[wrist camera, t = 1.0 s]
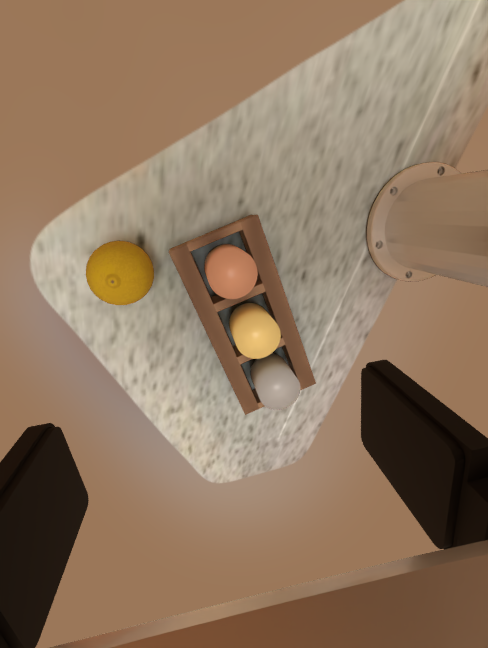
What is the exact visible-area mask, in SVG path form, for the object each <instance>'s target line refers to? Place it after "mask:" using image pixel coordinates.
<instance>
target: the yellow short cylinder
mask: <svg viewBox="0 0 488 648" xmlns="http://www.w3.org/2000/svg"><path fill="white" fill-rule="evenodd" d="M229 328H230V331H231V333H232V336H233V338H234V341H235V344H236V346H237V348H238V350H239V351H240V352H241V353H242V354H243V355H244V356H246V357H248V358H252V359H260V358H264V357H266V356H268V355H270V354H271V353H273V352H274V351H275V349H276V348H277V347H278V345H279V342H280V338H281V333H280V328H279V326H278V325H277V323H276V322H275V321H274V320H273V318H272V317H271V316H270V315H269V314H268V312H267V311H266V310H265V309H264V308H263V307H262V306H260V305H258V304H255V303H245V304H242V305H240V306H238V307H237V308H236V309H235V310H234V311H233V312H232V314H231V316H230V319H229Z"/></svg>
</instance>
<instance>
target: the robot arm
mask: <svg viewBox="0 0 488 648" xmlns="http://www.w3.org/2000/svg"><path fill="white" fill-rule="evenodd" d="M367 242H368V247H369V251H370V254H371V256H372V259H373V260H374V262H375V263H376V265H377V266H378V267H379V268H380V269H381V270H382V271H383V272H384V273H385V274H387V275H389V276H390V277H393V278H396V279H399V280H402V281H408V282H409V281H410V282H411V281H421V280H425V279H428V278H430V277H433V276H435V275H441V276H445V277H449V278H453V279H457V280H461V281H465V282H470V283H473V284H477V285H482V286H486V287H488V170H484V171H476V172H470V173H463V174H462V173H460V172H459V171H458V170H457V169H455V168H454V167H452V166H450V165H447V164H445V163H439V162H428V163H422V164H417V165H414V166H411V167H409V168H407V169H404V170H403V171H401V172H400V173H398V174H397V175H395V176H394V177H393V178H392V179H391V180H390V181H389V182H388V183H387V184H386V185H385V186H384V188H383V189H382V190H381V192H380V193H379V195H378V196H377V198H376V200H375V202H374V204H373V206H372V209H371V212H370V215H369V220H368V225H367ZM361 438H362V442H363V445H364V447H365V448H366V450H367V451H368V452H369V454H370V455H371V457H372V458H373V459H374V461H375V462H376V464H377V465H378V466H379V468H380V469H381V471H382V472H383V473H384V475H385V476H386V477H387V479H388V480H389V482H390V483H391V485H392V486H393V487H394V489H395V490H396V492H397V493H398V494H399V496H400V497H401V499H402V500H403V501H404V503H405V504H406V506H407V507H408V508H409V510H410V511H411V513H412V514H413V515H414V517H415V518H416V519H417V521H418V522H419V524H420V525H421V527H422V528H423V529H424V531H425V532H426V534H427V535H428V536H429V538H430V539H431V540H432V542H433V543H434V544H435V545H436V546H437V547H438V548H439V549H444V550H440V551H435V552H431V553H426V554H422V555H418V556H413V557H409V558H405V559H401V560H397V561H393V562H389V563H384V564H380V565H376V566H372V567H368V568H364V569H360V570H356V571H352V572H348V573H344V574H340V575H335V576H331V577H327V578H324V579H319V580H315V581H311V582H307V583H303V584H299V585H295V586H291V587H287V588H283V589H279V590H275V591H271V592H267V593H263V594H259V595H255V596H251V597H247V598H243V599H239V600H235V601H231V602H227V603H223V604H219V605H215V606H212V607H207V608H203V609H199V610H195V611H191V612H188V613H183V614H180V615H175V616H171V617H167V618H163V619H159V620H155V621H152V622H148V623H144V624H140V625H136V626H132V627H128V628H125V629H121V630H117V631H113V632H109V633H105V634H101V635H97V636H93V637H89V638H86V639H82V640H78V641H74V642H70V643H66V644H63V645H58V646H54V647H51V648H488V438H486V437H485V436H484V435H483V434H481V433H480V432H479V431H478V430H476V429H475V428H474V427H472V426H471V425H470V424H469V423H467V422H466V421H465V420H463V419H462V418H461V417H460V416H458V415H457V414H456V413H454V412H453V411H452V410H451V409H449V408H448V407H447V406H445V405H444V404H443V403H441V402H440V401H439V400H438V399H436V398H435V397H434V396H433V395H431V394H430V393H429V392H427V391H426V390H425V389H423V388H422V387H421V386H420V385H418V384H417V383H416V382H415V381H413V380H412V379H411V378H410V377H408V376H407V375H406V374H404V373H403V372H402V371H401V370H399V369H398V368H397V367H395V366H394V365H393V364H392V363H390V362H389V361H387V360H380V361H375V362H369V363H368V364H367V365H366V368H363V369H362V373H361ZM87 506H88V494H87V491H86V488H85V486H84V484H83V481H82V479H81V476H80V474H79V471H78V469H77V467H76V464H75V461H74V459H73V457H72V454H71V452H70V450H69V447H68V444H67V442H66V439H65V437H64V434H63V432H62V430H61V428H60V427H55V426H54V425H53V424H51V423H47V424H42V425H37V426H32V427H28V428H27V429H26V430H25V431H24V433H23V434H22V436H21V437H20V438H19V439H18V440H17V442H16V443H15V444H14V446H13V447H12V448H11V449H10V451H9V452H8V453H7V455H6V456H5V457H4V459H3V460H2V461H1V462H0V648H35V647H36V645H37V643H38V641H39V638H40V636H41V633H42V630H43V627H44V625H45V622H46V619H47V616H48V613H49V611H50V608H51V605H52V603H53V600H54V596H55V594H56V592H57V589H58V586H59V583H60V580H61V578H62V575H63V573H64V570H65V567H66V564H67V561H68V559H69V556H70V553H71V551H72V548H73V545H74V542H75V539H76V537H77V534H78V531H79V529H80V526H81V523H82V520H83V518H84V515H85V512H86V510H87Z"/></svg>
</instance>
